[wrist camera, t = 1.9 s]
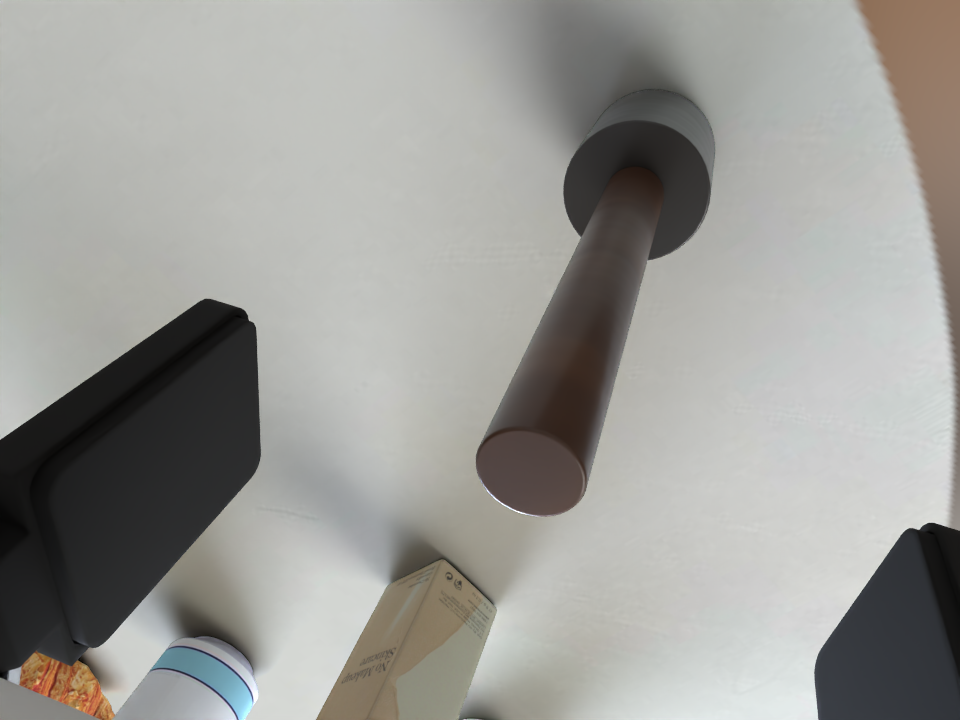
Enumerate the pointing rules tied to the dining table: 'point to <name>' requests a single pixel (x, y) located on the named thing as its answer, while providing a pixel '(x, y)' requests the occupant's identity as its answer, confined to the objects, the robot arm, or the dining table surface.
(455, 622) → the box
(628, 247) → the dowel with disc base
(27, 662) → the croissant
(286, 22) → the dining table surface
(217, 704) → the beverage can
